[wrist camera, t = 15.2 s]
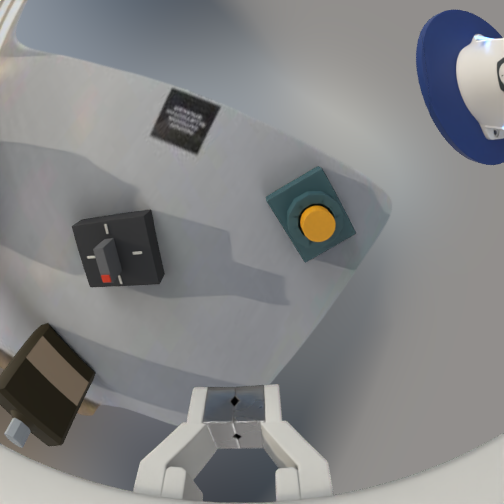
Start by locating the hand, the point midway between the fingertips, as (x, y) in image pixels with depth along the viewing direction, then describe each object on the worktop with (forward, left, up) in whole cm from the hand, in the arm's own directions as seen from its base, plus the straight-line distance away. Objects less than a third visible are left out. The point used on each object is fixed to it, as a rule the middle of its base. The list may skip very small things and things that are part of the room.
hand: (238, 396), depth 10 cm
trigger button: (-8, +3, -27) cm, 29 cm away
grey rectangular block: (+19, +6, -28) cm, 35 cm away
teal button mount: (-8, +3, -31) cm, 32 cm away
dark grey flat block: (+19, +5, -31) cm, 37 cm away
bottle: (+42, +28, -31) cm, 59 cm away
